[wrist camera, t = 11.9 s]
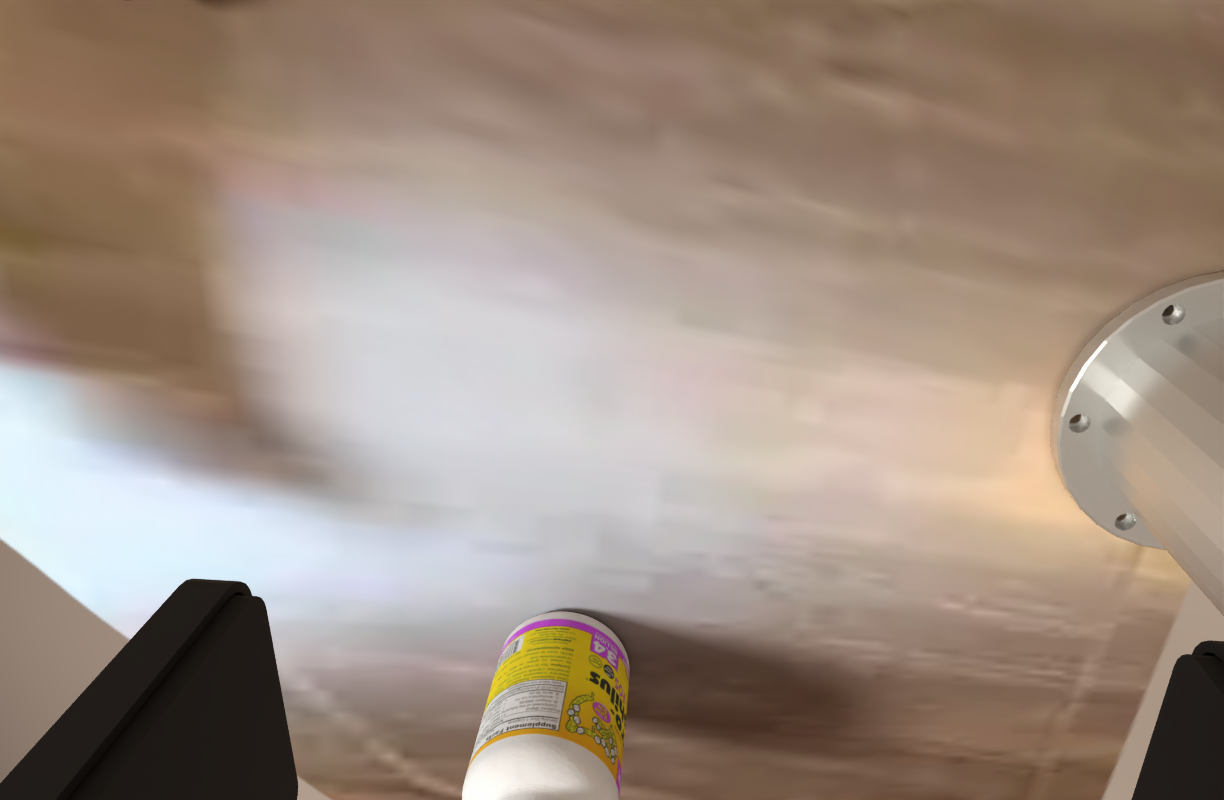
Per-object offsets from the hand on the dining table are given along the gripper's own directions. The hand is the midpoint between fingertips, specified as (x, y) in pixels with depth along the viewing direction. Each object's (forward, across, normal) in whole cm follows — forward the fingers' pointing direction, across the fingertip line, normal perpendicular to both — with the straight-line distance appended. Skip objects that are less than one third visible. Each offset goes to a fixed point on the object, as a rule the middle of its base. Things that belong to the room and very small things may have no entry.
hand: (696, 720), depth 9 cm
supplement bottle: (+30, +6, +24) cm, 38 cm away
